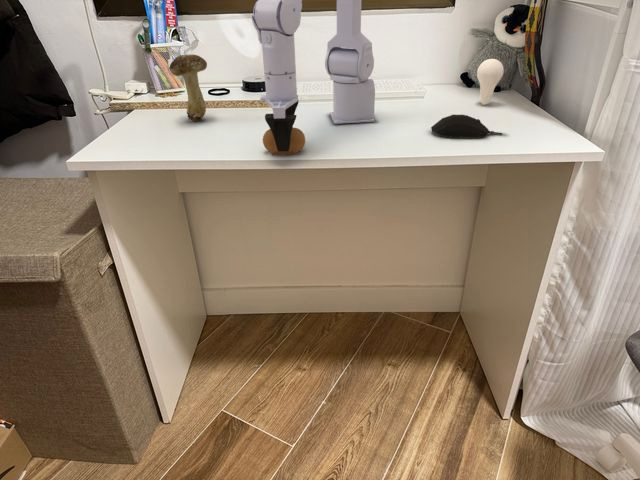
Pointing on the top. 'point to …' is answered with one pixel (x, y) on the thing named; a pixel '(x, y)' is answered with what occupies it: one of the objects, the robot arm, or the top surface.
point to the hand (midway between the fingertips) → (284, 143)
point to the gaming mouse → (461, 127)
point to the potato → (295, 143)
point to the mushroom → (191, 82)
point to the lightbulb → (489, 78)
